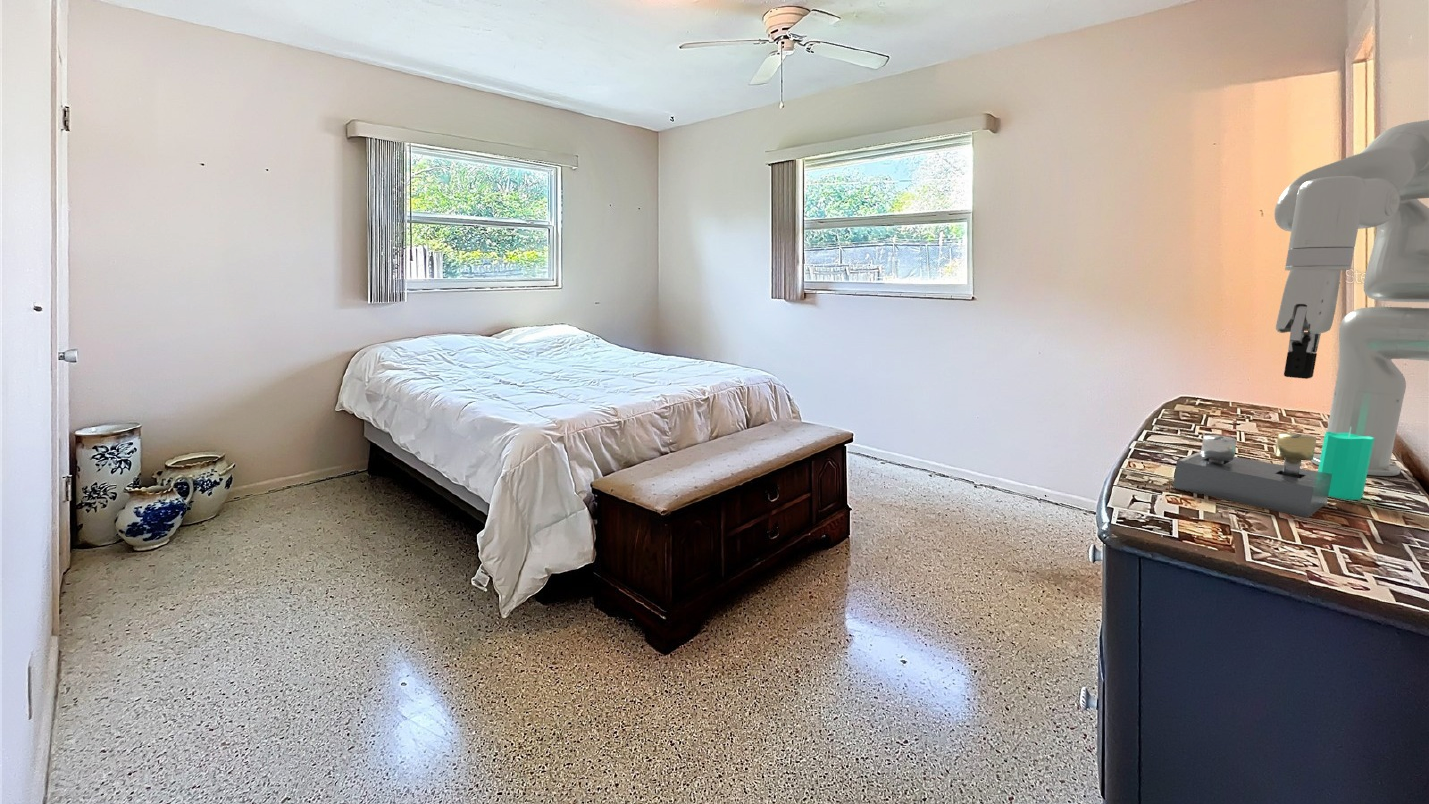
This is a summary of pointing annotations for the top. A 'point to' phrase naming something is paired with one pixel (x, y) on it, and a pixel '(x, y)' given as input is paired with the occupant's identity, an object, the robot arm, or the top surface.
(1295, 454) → the knob
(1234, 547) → the top surface
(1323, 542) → the top surface
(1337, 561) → the top surface
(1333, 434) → the candle
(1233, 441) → the knob
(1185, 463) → the mount
